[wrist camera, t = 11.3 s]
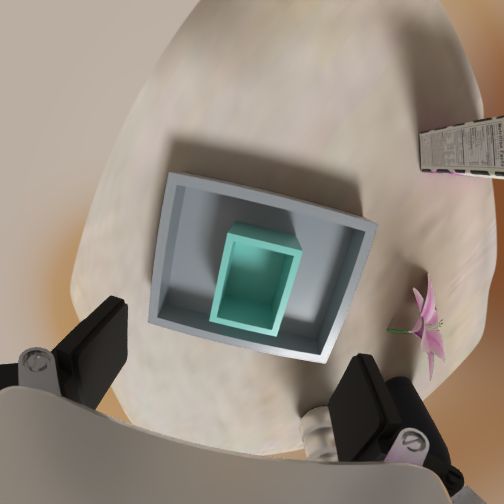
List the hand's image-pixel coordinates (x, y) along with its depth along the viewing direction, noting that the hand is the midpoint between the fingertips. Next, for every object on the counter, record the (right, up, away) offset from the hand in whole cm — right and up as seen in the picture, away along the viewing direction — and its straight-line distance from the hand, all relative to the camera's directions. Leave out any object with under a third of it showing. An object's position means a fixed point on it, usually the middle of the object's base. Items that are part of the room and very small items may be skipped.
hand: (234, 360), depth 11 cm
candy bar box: (+25, +16, +16) cm, 34 cm away
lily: (+22, -3, +22) cm, 31 cm away
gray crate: (+1, +3, +21) cm, 21 cm away
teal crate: (+1, +3, +20) cm, 20 cm away
